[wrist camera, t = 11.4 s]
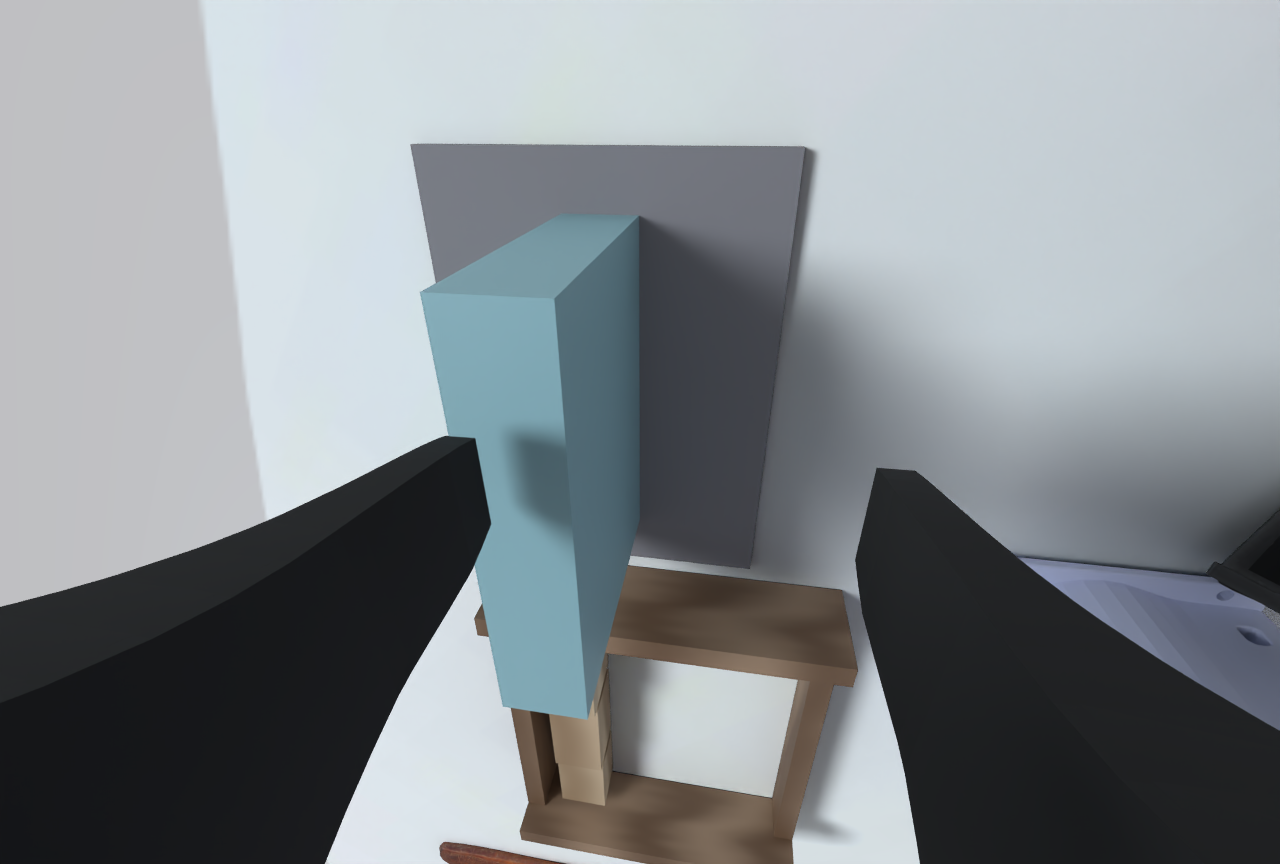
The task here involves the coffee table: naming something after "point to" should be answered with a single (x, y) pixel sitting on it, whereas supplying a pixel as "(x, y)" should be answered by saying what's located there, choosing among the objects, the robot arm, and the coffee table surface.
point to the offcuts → (586, 747)
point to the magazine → (1255, 566)
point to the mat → (659, 302)
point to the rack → (717, 638)
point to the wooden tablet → (483, 855)
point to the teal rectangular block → (548, 442)
